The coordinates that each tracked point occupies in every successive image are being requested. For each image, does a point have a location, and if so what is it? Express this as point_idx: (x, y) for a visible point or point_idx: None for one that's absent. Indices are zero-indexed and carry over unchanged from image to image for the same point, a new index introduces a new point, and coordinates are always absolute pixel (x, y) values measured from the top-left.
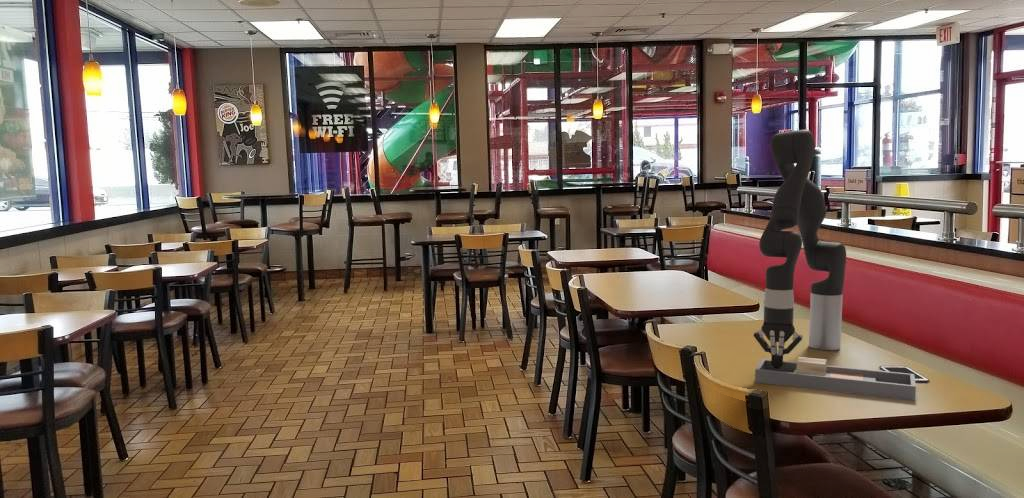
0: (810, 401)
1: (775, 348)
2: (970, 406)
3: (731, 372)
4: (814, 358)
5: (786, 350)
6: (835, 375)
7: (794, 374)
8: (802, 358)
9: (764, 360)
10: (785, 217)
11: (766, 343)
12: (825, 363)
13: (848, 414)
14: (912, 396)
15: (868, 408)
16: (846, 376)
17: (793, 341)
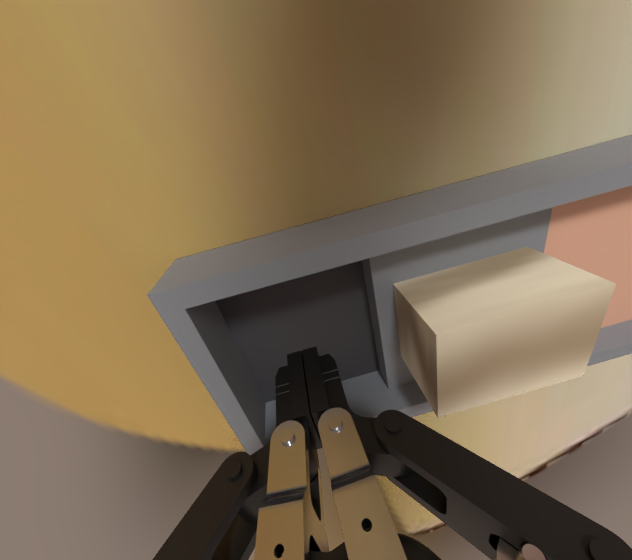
0: (454, 440)
1: (322, 508)
2: None
3: (85, 364)
4: (539, 307)
5: (398, 477)
6: (570, 240)
7: (412, 413)
8: (463, 353)
9: (187, 317)
10: None
11: (223, 532)
12: (587, 356)
13: (535, 453)
14: None
15: (589, 401)
16: (620, 223)
17: (494, 555)
